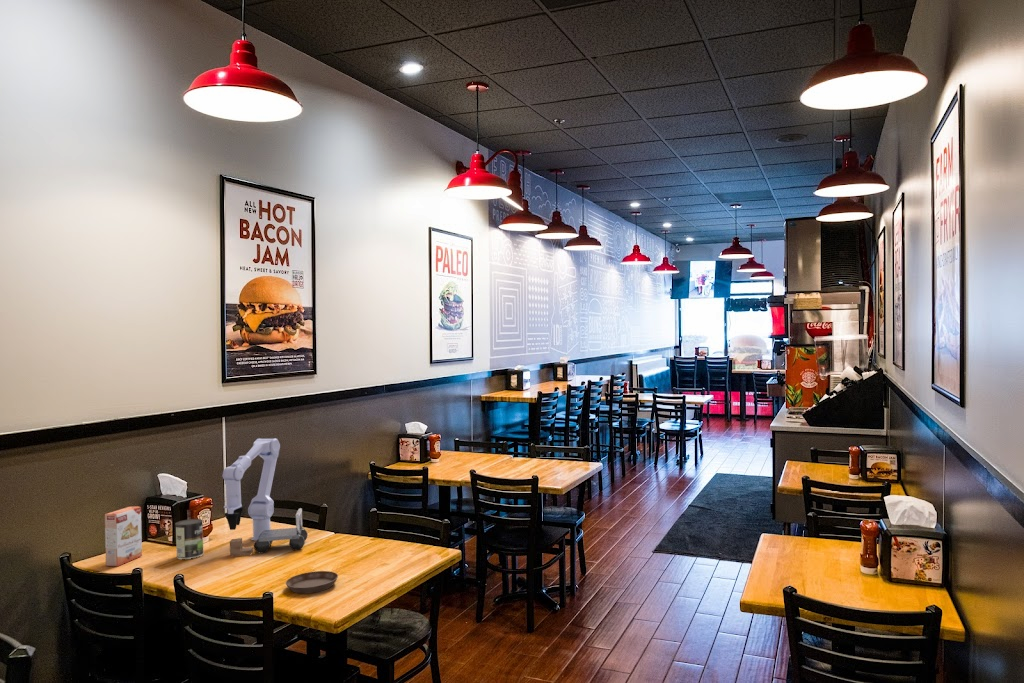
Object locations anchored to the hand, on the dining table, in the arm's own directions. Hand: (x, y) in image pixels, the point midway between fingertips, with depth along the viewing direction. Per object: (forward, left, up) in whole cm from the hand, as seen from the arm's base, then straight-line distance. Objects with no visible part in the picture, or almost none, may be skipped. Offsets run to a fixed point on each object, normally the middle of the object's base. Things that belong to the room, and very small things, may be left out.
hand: (234, 527), depth 301 cm
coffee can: (+4, -17, -10) cm, 20 cm away
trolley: (+3, +19, -9) cm, 21 cm away
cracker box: (+4, -42, -10) cm, 43 cm away
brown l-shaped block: (+8, +4, -10) cm, 13 cm away
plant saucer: (+58, +37, -10) cm, 70 cm away
